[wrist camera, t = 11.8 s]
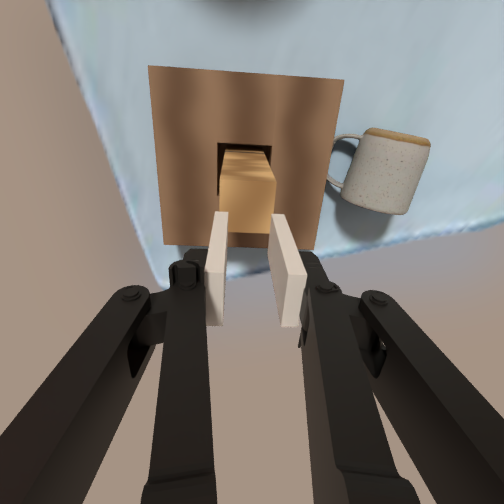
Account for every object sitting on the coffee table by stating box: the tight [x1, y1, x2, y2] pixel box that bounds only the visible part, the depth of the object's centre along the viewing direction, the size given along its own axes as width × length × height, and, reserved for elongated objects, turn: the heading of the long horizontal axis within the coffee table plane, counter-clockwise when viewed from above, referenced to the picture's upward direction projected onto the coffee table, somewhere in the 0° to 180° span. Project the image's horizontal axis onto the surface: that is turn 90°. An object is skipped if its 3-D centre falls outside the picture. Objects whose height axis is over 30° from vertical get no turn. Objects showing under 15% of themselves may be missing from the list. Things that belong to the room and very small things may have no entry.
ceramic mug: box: [327, 128, 431, 215], centre depth 33 cm, size 11×8×8 cm
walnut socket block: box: [148, 65, 344, 250], centre depth 34 cm, size 18×18×5 cm
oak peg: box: [219, 145, 277, 234], centre depth 28 cm, size 4×4×15 cm
